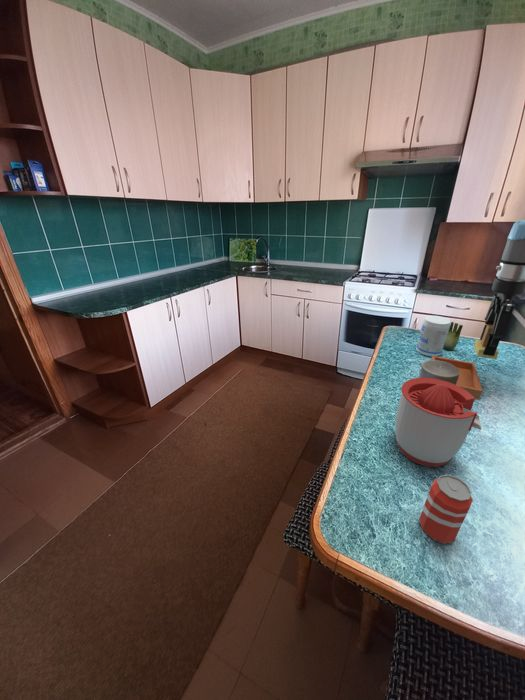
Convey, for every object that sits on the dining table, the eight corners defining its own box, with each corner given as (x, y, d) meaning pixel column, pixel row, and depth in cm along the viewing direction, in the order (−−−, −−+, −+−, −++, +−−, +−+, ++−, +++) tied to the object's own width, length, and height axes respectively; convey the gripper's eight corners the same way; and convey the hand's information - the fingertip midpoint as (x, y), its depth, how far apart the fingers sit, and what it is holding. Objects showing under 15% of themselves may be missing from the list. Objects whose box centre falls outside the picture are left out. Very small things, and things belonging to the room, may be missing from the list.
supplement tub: (410, 349, 124) (418, 316, 118) (427, 345, 127) (436, 313, 120) (428, 359, 116) (438, 325, 110) (446, 355, 119) (457, 321, 112)
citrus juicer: (467, 489, 64) (499, 417, 55) (384, 459, 72) (400, 392, 63) (464, 442, 76) (489, 378, 67) (393, 421, 84) (407, 361, 75)
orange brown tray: (471, 370, 108) (474, 363, 106) (479, 399, 92) (482, 391, 91) (430, 363, 113) (432, 355, 112) (431, 389, 98) (433, 381, 96)
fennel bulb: (456, 350, 122) (465, 324, 117) (446, 352, 121) (455, 325, 116) (446, 345, 127) (454, 319, 122) (436, 346, 126) (444, 320, 121)
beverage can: (446, 515, 59) (464, 473, 53) (460, 548, 53) (482, 506, 48) (415, 510, 60) (429, 470, 54) (425, 543, 54) (442, 501, 48)
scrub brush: (491, 348, 96) (500, 323, 92) (496, 359, 90) (506, 332, 86) (473, 346, 98) (482, 321, 94) (476, 356, 92) (486, 330, 88)
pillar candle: (450, 404, 90) (465, 362, 83) (442, 420, 84) (457, 376, 77) (417, 392, 96) (428, 352, 89) (407, 406, 90) (418, 364, 83)
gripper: (488, 270, 93) (468, 335, 103) (503, 286, 77) (476, 361, 87) (518, 272, 90) (493, 338, 100) (539, 288, 74) (507, 366, 84)
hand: (486, 349), depth 94 cm, fingers closed on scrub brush, 8 cm apart
